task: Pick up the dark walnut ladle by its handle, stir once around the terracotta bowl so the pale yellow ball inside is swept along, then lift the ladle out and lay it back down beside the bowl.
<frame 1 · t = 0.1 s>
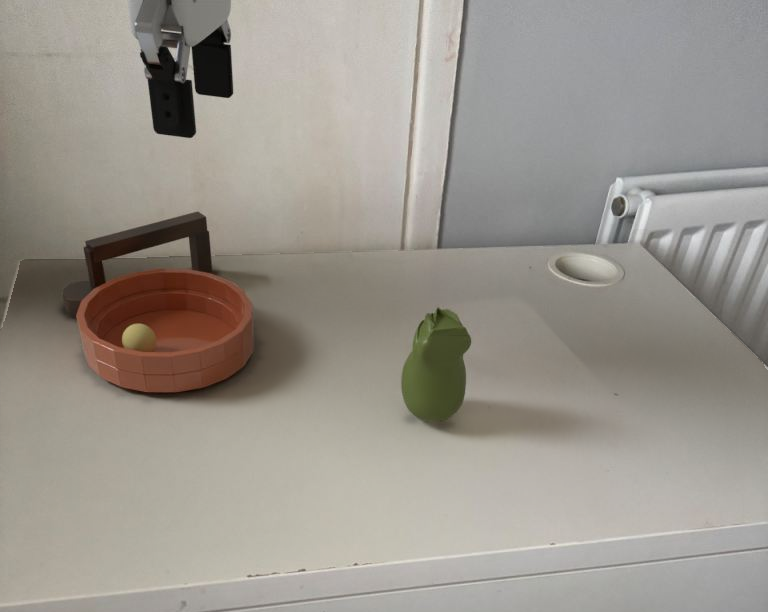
hand: (195, 114, 67), 20 cm above the table, tool pointing down, fingers open, 9 cm apart
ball: (139, 340, 75), point 2 cm above the table, touching bowl
ladle: (87, 308, 83), on the table
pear: (430, 416, 74), on the table
bowl: (171, 349, 78), on the table
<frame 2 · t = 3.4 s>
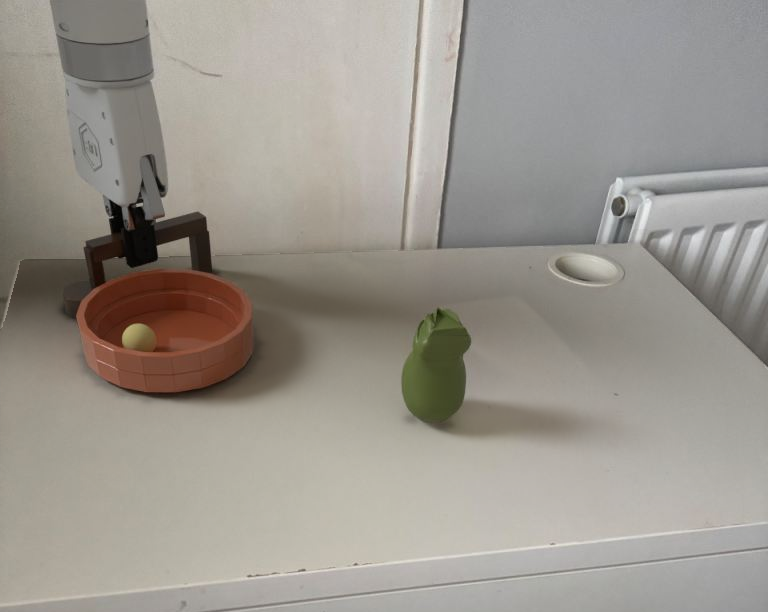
hand: (136, 257, 83), 4 cm above the table, tool pointing down, fingers closed on ladle
ladle: (87, 308, 83), on the table, touching gripper
everything else where it was.
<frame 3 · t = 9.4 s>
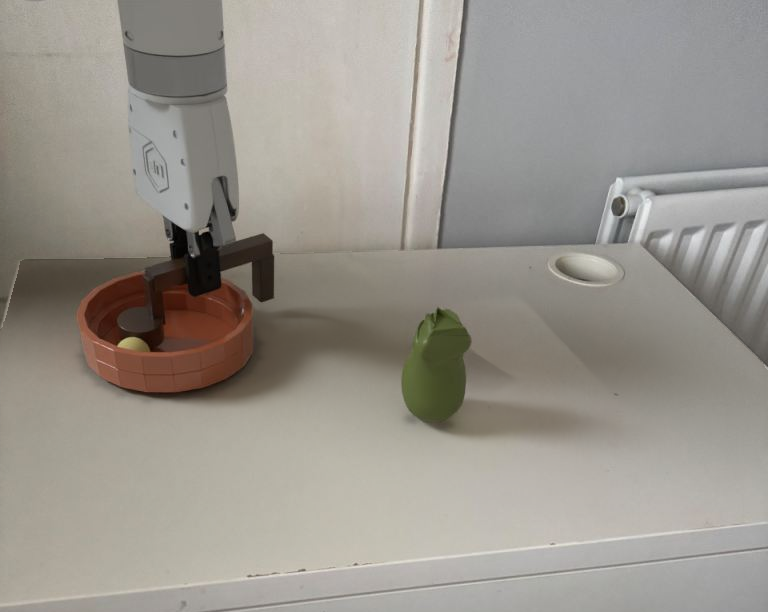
hand: (197, 284, 77), 5 cm above the table, tool pointing down, fingers closed on ladle
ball: (133, 354, 74), point 2 cm above the table, tilted 81°, touching bowl, ladle
ladle: (142, 337, 77), point 2 cm above the table, touching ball, gripper
everything else where it was.
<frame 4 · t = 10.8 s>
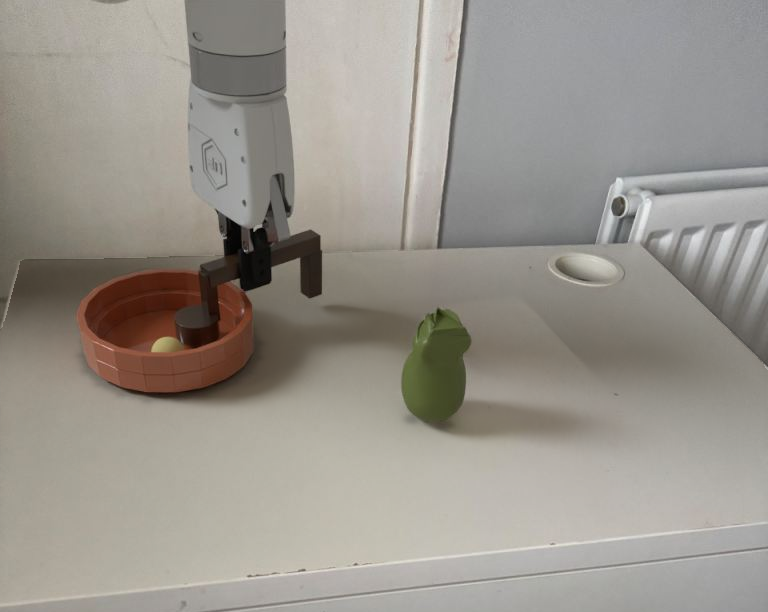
hand: (248, 280, 78), 5 cm above the table, tool pointing down, fingers closed on ladle
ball: (168, 353, 74), point 2 cm above the table, tilted 20°, touching bowl
ladle: (198, 334, 78), point 1 cm above the table, touching gripper
everything else where it was.
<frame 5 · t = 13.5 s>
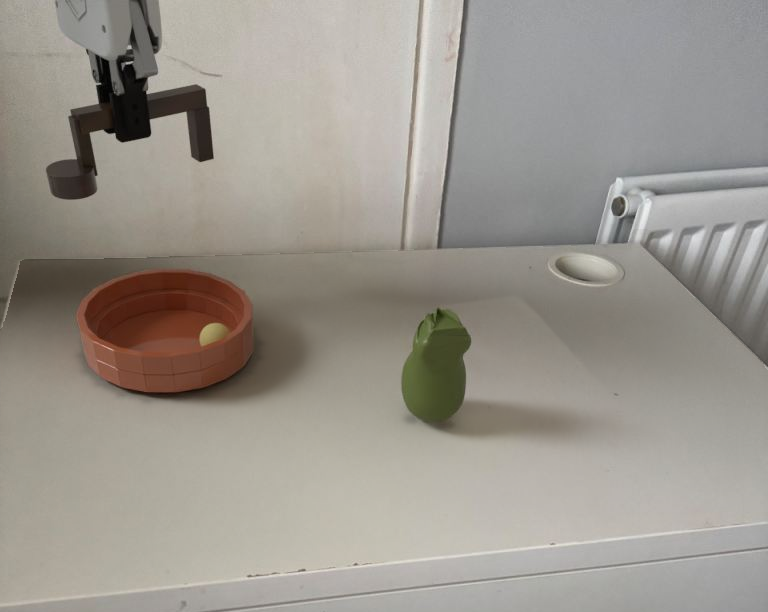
hand: (127, 133, 75), 16 cm above the table, tool pointing down, fingers closed on ladle
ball: (216, 339, 76), point 2 cm above the table, tilted 163°, touching bowl
ladle: (74, 190, 74), point 12 cm above the table, touching gripper
everything else where it was.
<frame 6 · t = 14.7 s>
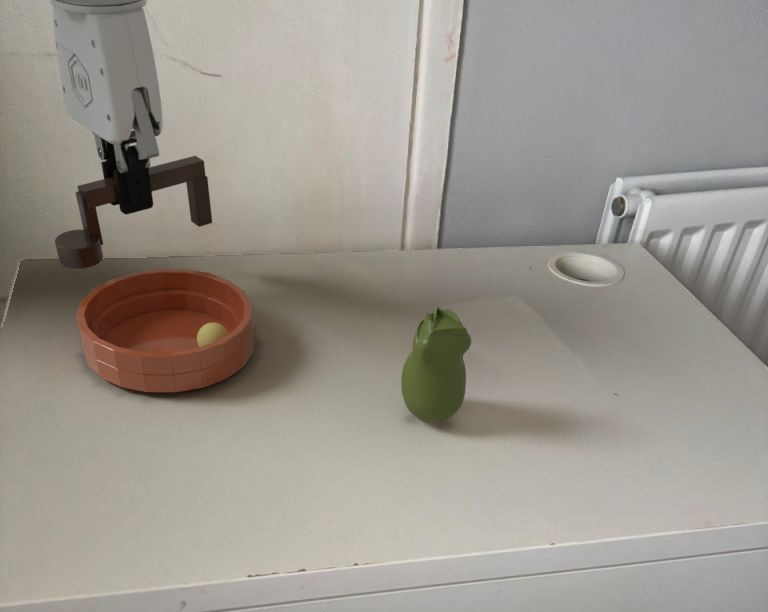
hand: (131, 204, 79), 9 cm above the table, tool pointing down, fingers closed on ladle
ladle: (81, 258, 79), point 5 cm above the table, touching gripper
everything else where it was.
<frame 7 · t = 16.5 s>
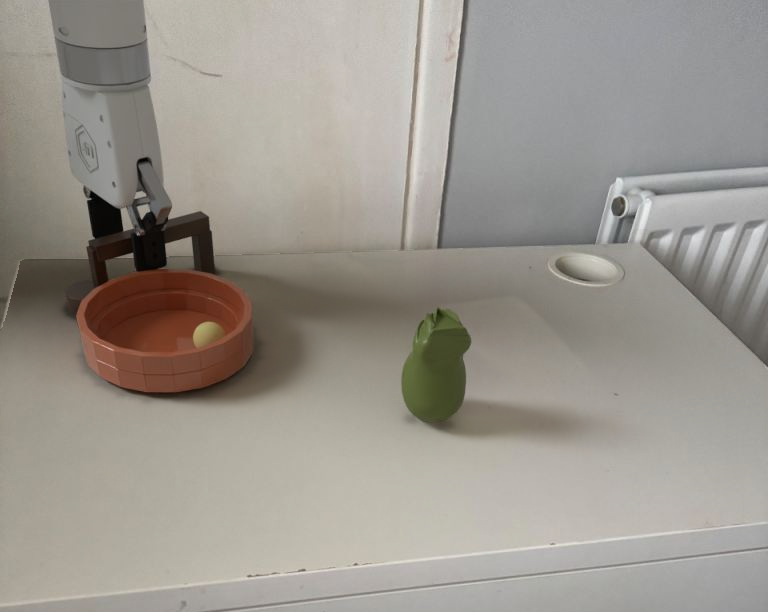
hand: (129, 251, 83), 4 cm above the table, tool pointing down, fingers open, 7 cm apart
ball: (209, 338, 76), point 2 cm above the table, tilted 148°, touching bowl
ladle: (89, 308, 83), on the table
everything else where it was.
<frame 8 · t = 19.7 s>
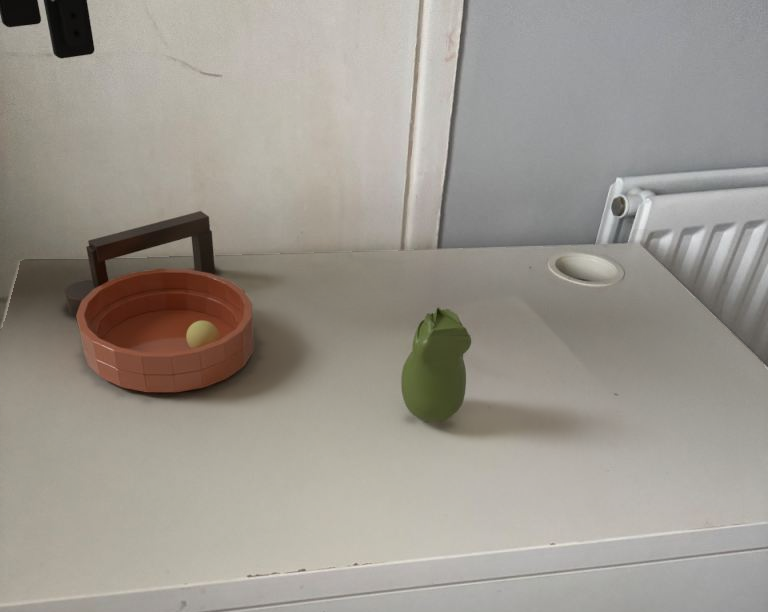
hand: (47, 39, 69), 23 cm above the table, tool pointing down, fingers open, 9 cm apart
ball: (203, 337, 77), point 2 cm above the table, tilted 125°, touching bowl
everything else where it was.
at the end: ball moved 5.6 cm from its start; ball inside the target area in the bowl (3.3 cm from its centre), point 2.0 cm above the bowl's base; ladle inside the target area (0.3 cm from its centre), on the table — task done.
